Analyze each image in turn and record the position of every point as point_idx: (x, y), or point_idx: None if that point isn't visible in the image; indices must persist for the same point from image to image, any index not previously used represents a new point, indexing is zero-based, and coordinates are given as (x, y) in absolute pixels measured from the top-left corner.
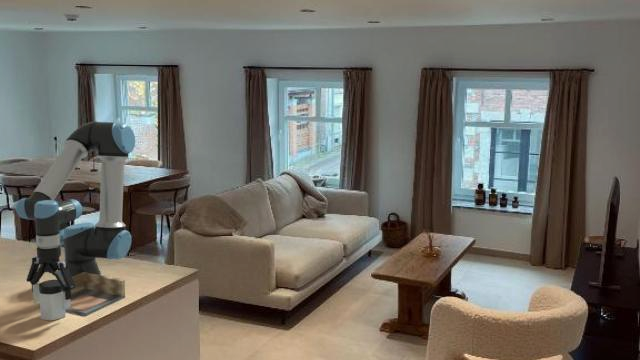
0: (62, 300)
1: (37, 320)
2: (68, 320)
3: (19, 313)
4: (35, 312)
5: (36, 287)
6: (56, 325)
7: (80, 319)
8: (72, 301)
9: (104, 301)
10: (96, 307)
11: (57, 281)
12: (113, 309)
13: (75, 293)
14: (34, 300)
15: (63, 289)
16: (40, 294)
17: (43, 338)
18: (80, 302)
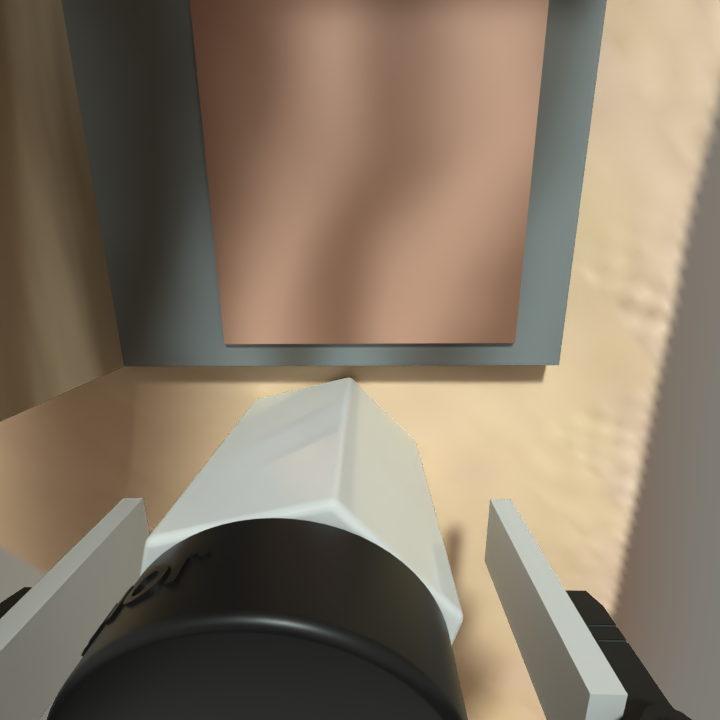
0: (515, 638)
1: None
2: (480, 471)
3: (89, 522)
4: (162, 468)
5: (33, 690)
6: (466, 556)
7: (548, 425)
8: (261, 221)
9: (542, 52)
10: (562, 224)
11: (269, 703)
12: (685, 136)
13: (86, 5)
14: (133, 575)
15: (444, 622)
16: None
17: (528, 692)
18: (347, 205)
